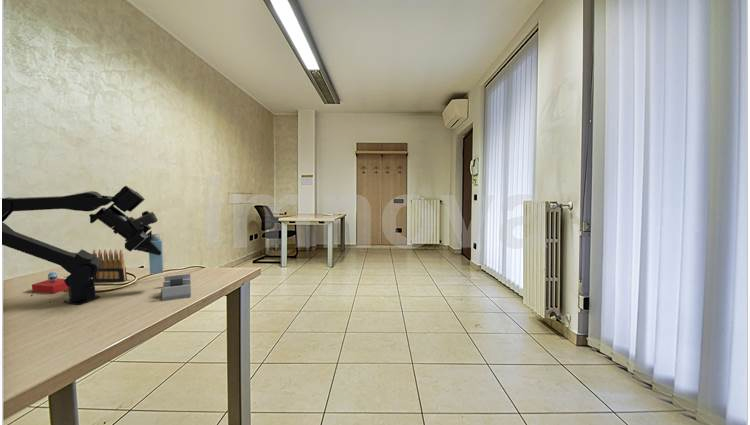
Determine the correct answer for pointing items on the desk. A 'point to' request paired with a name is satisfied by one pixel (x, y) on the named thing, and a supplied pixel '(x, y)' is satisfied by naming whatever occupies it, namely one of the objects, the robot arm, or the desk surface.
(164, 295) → the organizer
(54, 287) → the red block with knob
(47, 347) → the desk surface
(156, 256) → the blue plug
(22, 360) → the desk surface
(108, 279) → the ammunition clip
